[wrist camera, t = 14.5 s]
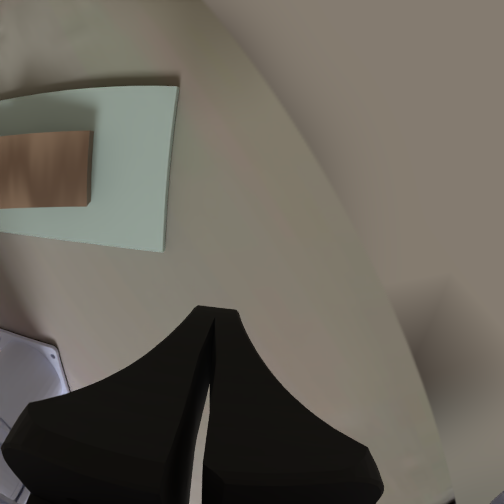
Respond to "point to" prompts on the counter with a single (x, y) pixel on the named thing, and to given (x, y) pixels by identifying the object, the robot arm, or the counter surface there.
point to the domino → (46, 169)
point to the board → (103, 163)
